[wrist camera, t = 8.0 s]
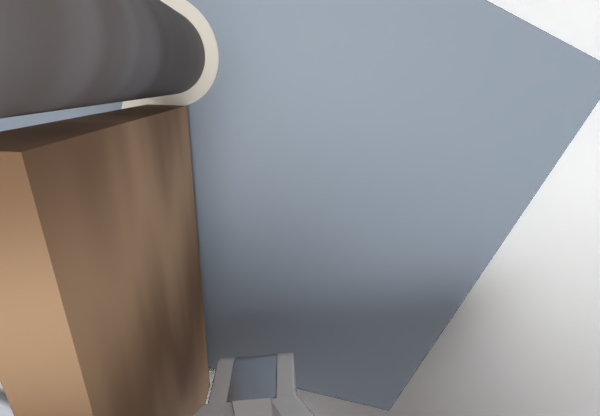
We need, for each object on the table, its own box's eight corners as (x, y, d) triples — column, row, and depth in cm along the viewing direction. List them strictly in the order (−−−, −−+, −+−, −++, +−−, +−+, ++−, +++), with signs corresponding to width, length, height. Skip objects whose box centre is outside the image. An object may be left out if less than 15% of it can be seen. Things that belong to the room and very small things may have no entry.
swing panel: (209, 385, 15) (152, 632, 8) (182, 385, 14) (102, 635, 8) (186, 105, 10) (20, 152, 4) (147, 104, 10) (-94, 148, 4)
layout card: (610, 71, 11) (621, 70, 11) (386, 404, 17) (389, 412, 16) (-520, -529, 6) (-573, -570, 6) (-306, 238, 12) (-325, 244, 11)
